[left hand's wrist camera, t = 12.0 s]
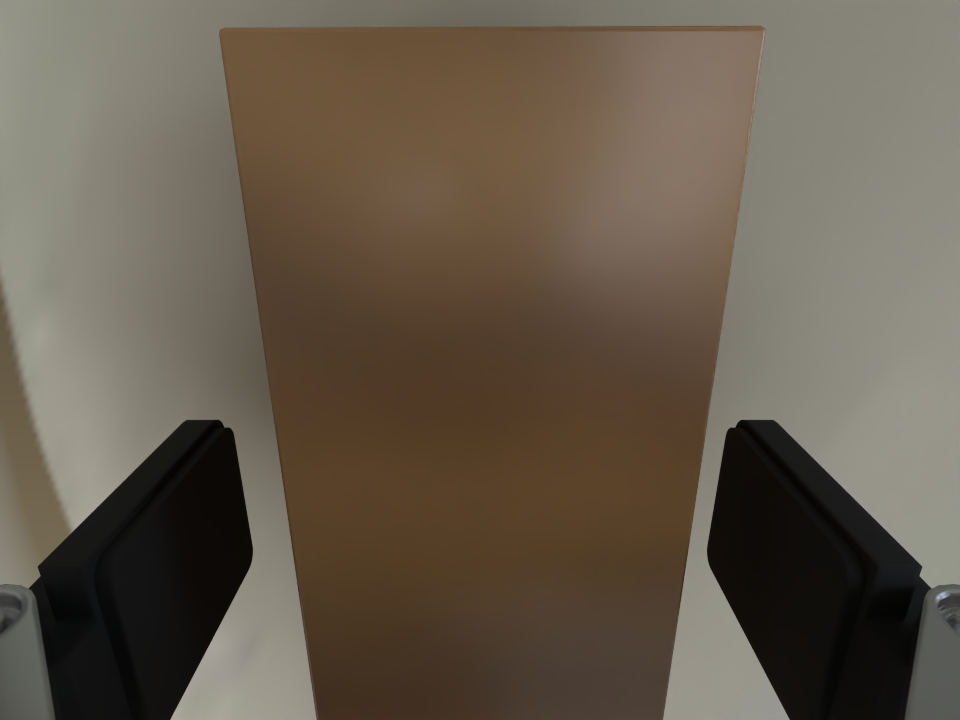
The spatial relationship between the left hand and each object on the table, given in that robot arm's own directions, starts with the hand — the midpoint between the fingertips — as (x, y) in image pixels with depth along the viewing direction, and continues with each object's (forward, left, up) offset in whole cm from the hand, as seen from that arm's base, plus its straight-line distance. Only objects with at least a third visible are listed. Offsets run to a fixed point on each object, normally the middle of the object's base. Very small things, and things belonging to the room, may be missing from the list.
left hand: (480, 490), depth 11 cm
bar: (+12, -20, -5) cm, 24 cm away
